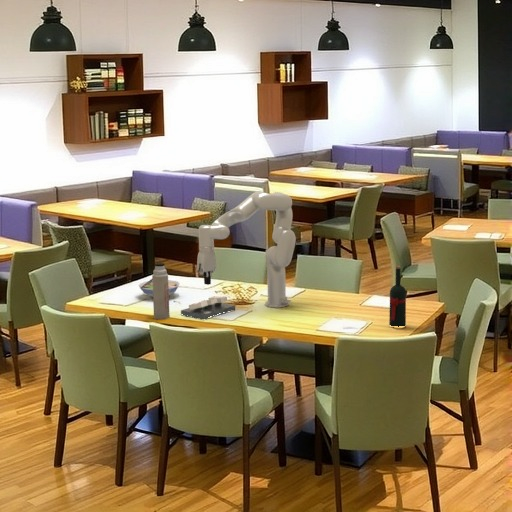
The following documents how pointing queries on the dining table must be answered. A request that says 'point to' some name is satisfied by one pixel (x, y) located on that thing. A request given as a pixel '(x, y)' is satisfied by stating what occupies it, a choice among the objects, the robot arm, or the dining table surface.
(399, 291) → the wine bottle
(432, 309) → the dining table surface
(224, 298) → the rocker
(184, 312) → the console
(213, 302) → the rocker
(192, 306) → the rocker
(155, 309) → the thermos bottle
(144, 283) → the ramen bowl
